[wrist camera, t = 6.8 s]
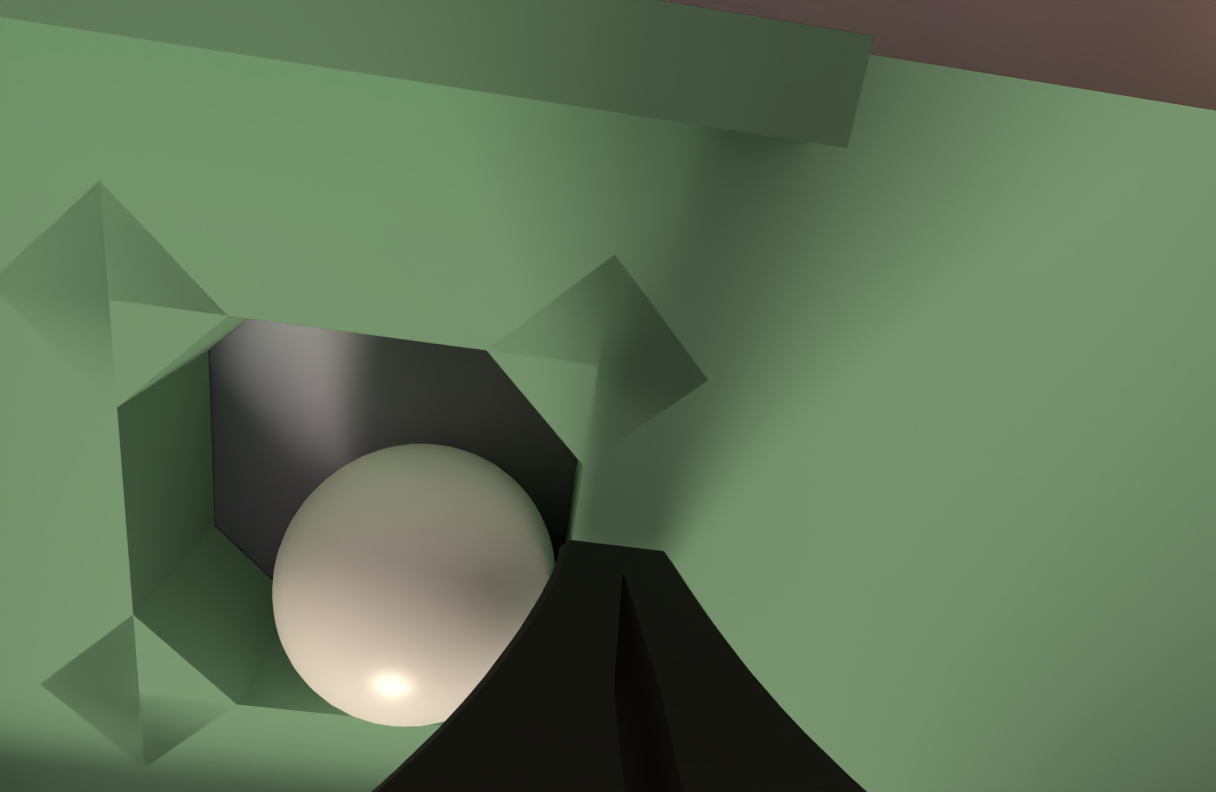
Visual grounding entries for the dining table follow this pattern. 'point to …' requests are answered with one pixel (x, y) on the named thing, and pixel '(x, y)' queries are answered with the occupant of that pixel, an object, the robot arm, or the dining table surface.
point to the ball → (408, 581)
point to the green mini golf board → (621, 367)
